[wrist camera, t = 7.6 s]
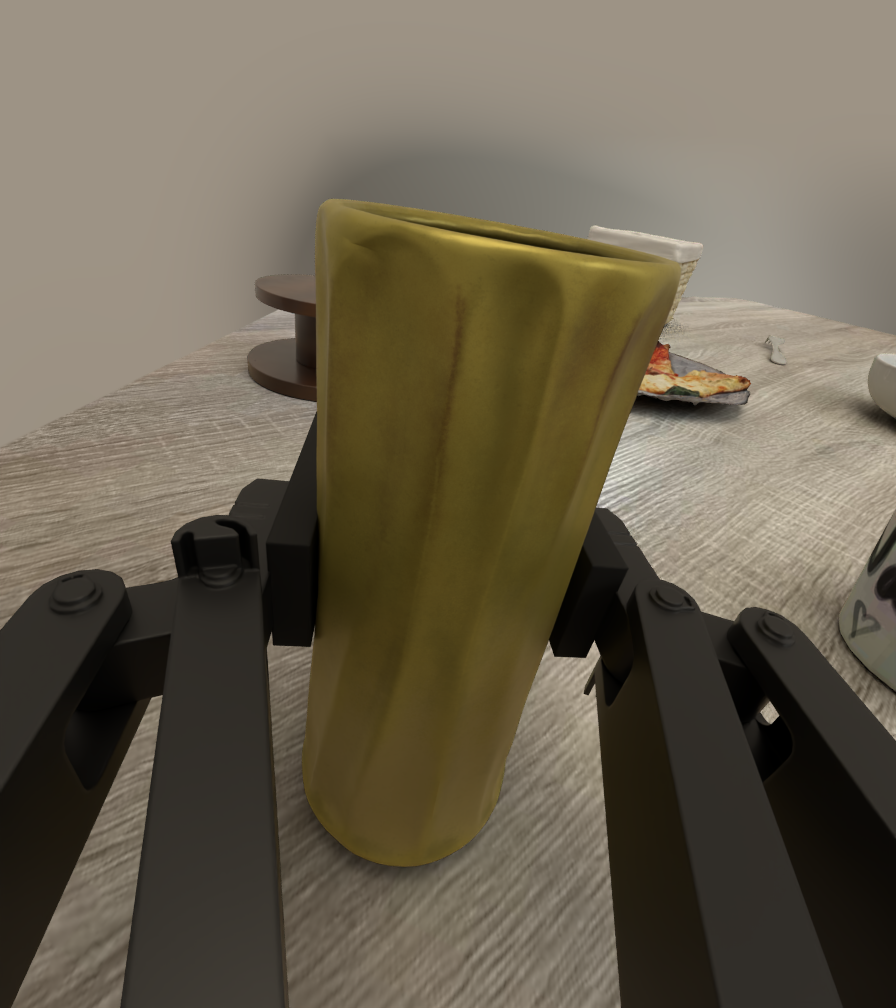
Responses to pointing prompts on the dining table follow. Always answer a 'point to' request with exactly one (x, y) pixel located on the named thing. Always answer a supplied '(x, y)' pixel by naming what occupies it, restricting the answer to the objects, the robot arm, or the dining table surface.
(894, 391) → the serving bowl
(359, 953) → the dining table surface
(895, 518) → the mug
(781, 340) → the fork
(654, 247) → the basket
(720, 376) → the food plate
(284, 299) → the stand
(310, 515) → the robot arm
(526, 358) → the vase
